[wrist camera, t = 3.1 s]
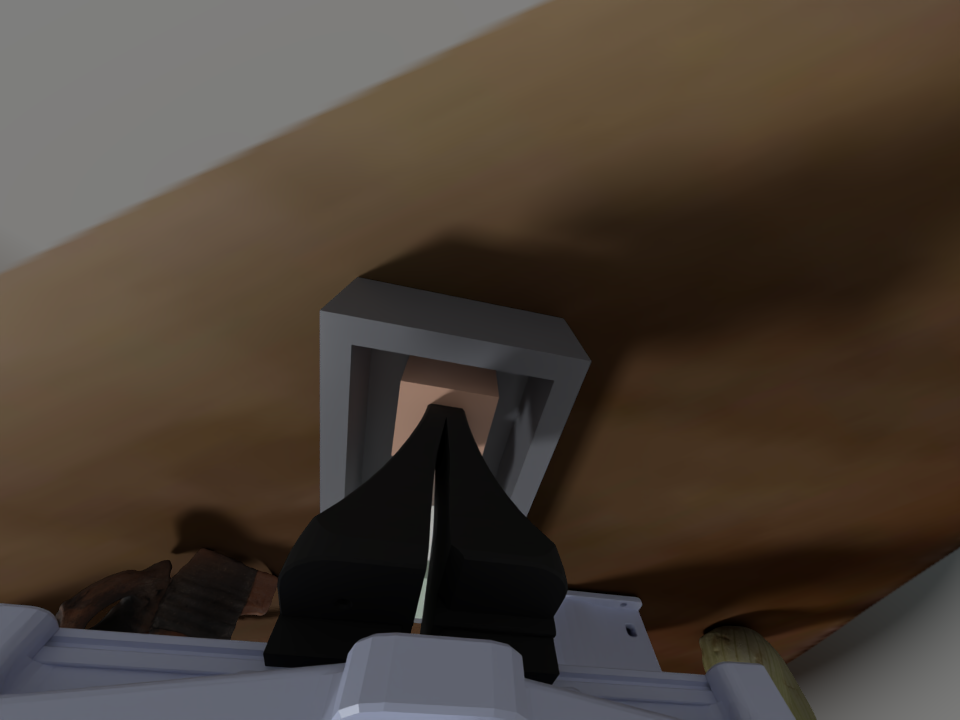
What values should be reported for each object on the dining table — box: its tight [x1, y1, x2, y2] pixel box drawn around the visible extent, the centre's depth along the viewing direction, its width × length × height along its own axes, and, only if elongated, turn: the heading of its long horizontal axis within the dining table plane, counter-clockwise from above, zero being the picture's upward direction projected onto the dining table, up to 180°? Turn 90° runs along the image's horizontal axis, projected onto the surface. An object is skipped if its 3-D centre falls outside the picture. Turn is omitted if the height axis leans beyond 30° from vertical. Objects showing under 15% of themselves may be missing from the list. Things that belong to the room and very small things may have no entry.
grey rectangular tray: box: [320, 277, 591, 623], centre depth 17 cm, size 9×18×4 cm, turn 168°
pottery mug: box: [55, 548, 278, 640], centre depth 22 cm, size 12×10×8 cm
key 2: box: [391, 355, 499, 456], centre depth 14 cm, size 4×4×2 cm
